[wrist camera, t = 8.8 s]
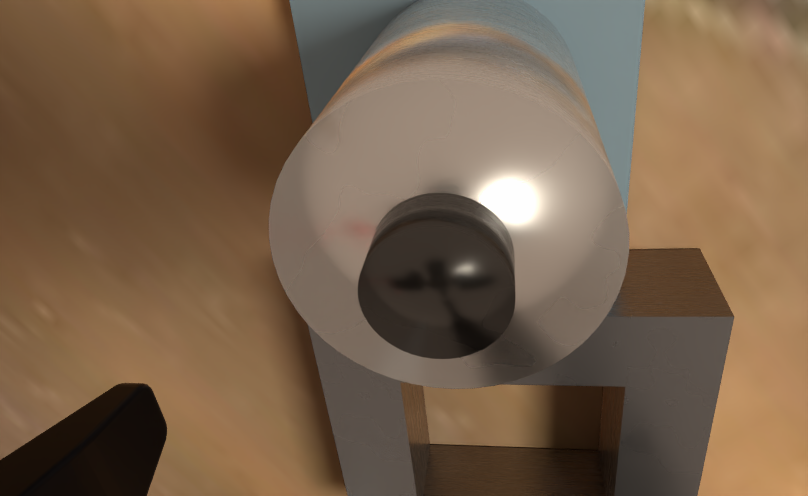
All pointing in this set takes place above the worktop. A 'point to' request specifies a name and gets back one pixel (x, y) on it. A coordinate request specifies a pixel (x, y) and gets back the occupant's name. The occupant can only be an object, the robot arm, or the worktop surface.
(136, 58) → the worktop surface
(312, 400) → the worktop surface
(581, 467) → the frame
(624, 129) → the mat
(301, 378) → the worktop surface
